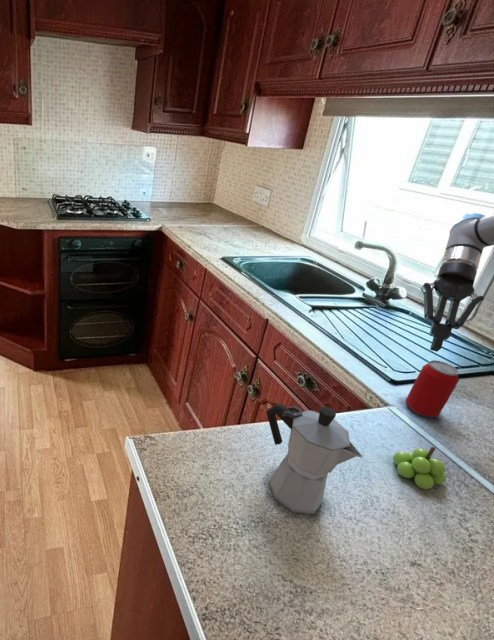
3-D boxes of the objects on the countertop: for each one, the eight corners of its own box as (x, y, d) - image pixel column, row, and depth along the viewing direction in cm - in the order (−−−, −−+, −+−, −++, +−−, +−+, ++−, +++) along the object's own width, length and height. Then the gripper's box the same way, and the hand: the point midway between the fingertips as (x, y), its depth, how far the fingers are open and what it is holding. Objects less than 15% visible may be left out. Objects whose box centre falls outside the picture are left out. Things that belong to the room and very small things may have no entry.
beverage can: (436, 407, 96) (459, 365, 90) (439, 423, 90) (465, 380, 85) (403, 396, 98) (424, 355, 93) (404, 411, 93) (427, 368, 88)
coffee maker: (341, 503, 68) (382, 422, 60) (320, 534, 63) (362, 449, 55) (262, 450, 78) (288, 373, 70) (237, 473, 72) (263, 392, 64)
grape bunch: (429, 464, 78) (446, 436, 75) (450, 498, 72) (470, 468, 68) (385, 455, 80) (400, 427, 76) (402, 487, 73) (419, 458, 69)
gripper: (482, 281, 105) (461, 363, 100) (423, 268, 111) (400, 344, 105) (497, 268, 99) (475, 354, 93) (434, 254, 105) (409, 335, 99)
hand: (435, 349), depth 99 cm, fingers closed
